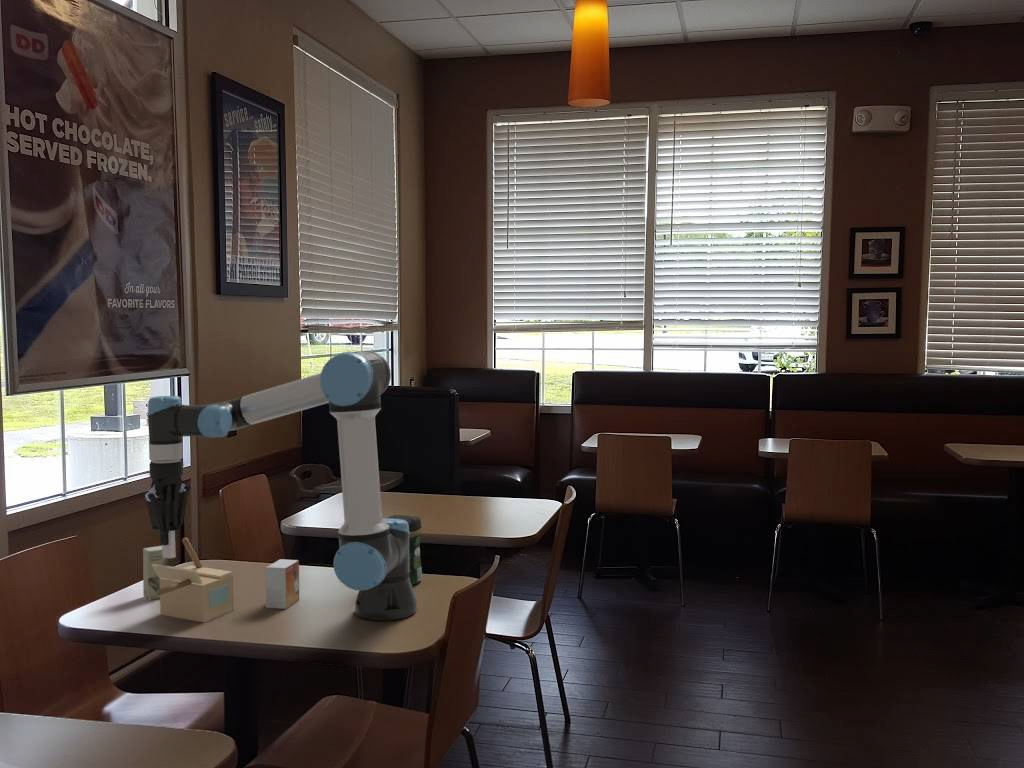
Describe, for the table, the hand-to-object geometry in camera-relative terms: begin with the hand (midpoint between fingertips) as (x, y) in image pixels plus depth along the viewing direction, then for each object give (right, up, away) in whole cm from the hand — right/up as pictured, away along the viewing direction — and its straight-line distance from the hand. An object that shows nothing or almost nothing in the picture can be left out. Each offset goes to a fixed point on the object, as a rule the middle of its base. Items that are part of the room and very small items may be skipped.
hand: (169, 557), depth 211 cm
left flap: (+3, -3, -2) cm, 4 cm away
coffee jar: (+53, -13, +30) cm, 62 cm away
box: (-10, -14, +17) cm, 24 cm away
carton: (+5, -15, +4) cm, 16 cm away
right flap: (+6, -5, +6) cm, 10 cm away
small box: (+25, -14, +11) cm, 31 cm away
